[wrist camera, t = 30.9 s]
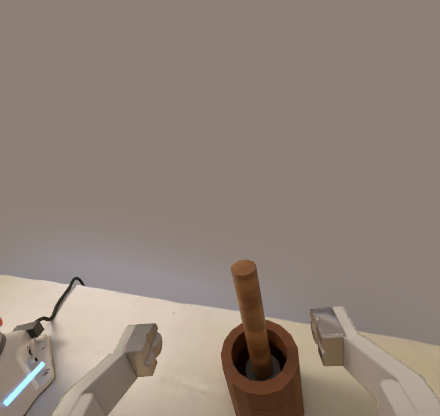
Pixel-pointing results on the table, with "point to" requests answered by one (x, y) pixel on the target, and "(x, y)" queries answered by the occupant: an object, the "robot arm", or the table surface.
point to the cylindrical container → (270, 389)
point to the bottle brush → (253, 322)
